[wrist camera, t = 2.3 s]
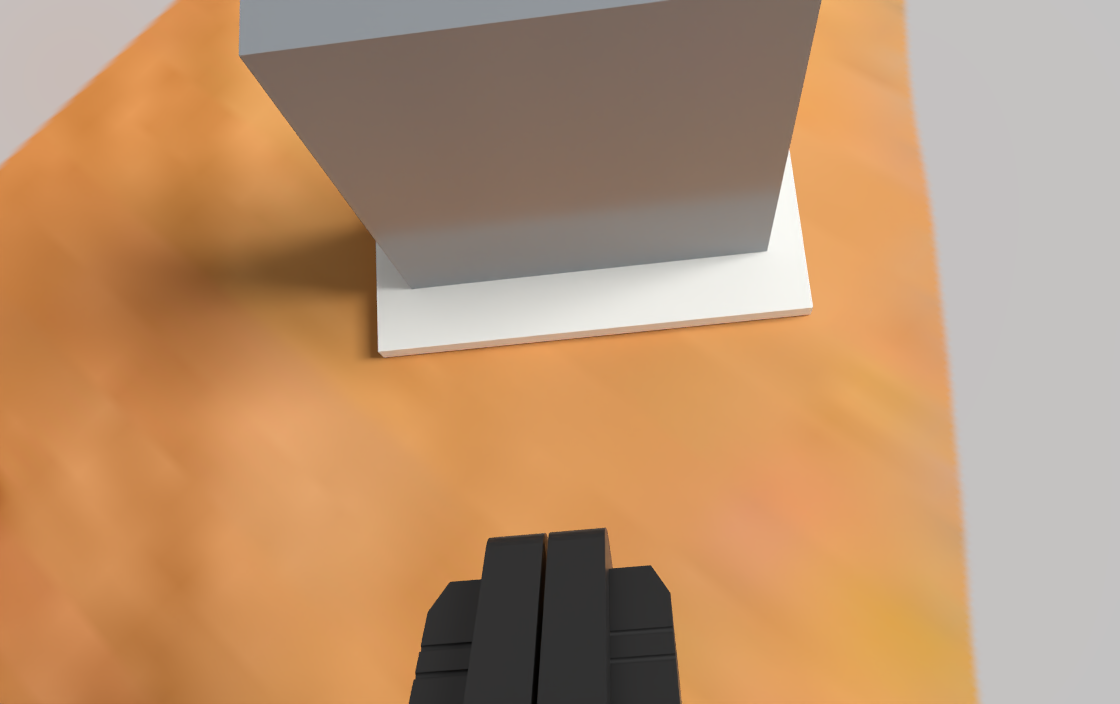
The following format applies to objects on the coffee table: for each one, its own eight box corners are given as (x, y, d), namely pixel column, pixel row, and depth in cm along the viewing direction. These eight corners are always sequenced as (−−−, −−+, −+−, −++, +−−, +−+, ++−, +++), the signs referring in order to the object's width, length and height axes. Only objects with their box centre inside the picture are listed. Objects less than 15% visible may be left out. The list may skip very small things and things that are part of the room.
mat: (384, 357, 29) (378, 352, 29) (373, -108, 34) (367, -121, 33) (810, 314, 28) (813, 307, 28) (739, -159, 33) (740, -174, 32)
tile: (411, 289, 29) (239, 55, 18) (408, 203, 30) (241, -73, 19) (766, 251, 28) (825, -20, 17) (755, 164, 29) (803, -152, 18)
